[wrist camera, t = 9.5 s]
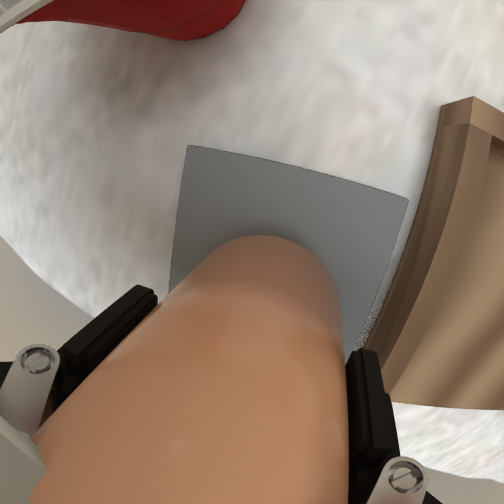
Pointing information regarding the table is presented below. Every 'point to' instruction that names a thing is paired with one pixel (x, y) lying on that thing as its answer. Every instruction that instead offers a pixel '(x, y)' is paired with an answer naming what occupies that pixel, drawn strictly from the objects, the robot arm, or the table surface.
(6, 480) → the robot arm
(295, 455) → the tan tapered cylinder
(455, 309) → the brown tray
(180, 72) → the table surface
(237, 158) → the coaster
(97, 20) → the plastic cup
